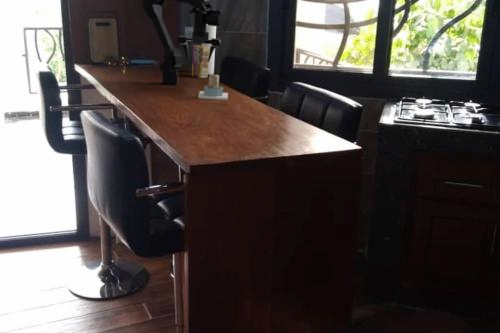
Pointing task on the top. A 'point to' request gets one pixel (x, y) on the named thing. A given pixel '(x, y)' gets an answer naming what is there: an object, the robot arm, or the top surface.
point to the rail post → (213, 81)
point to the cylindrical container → (211, 35)
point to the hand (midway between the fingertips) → (198, 61)
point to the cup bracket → (213, 93)
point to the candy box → (200, 61)
